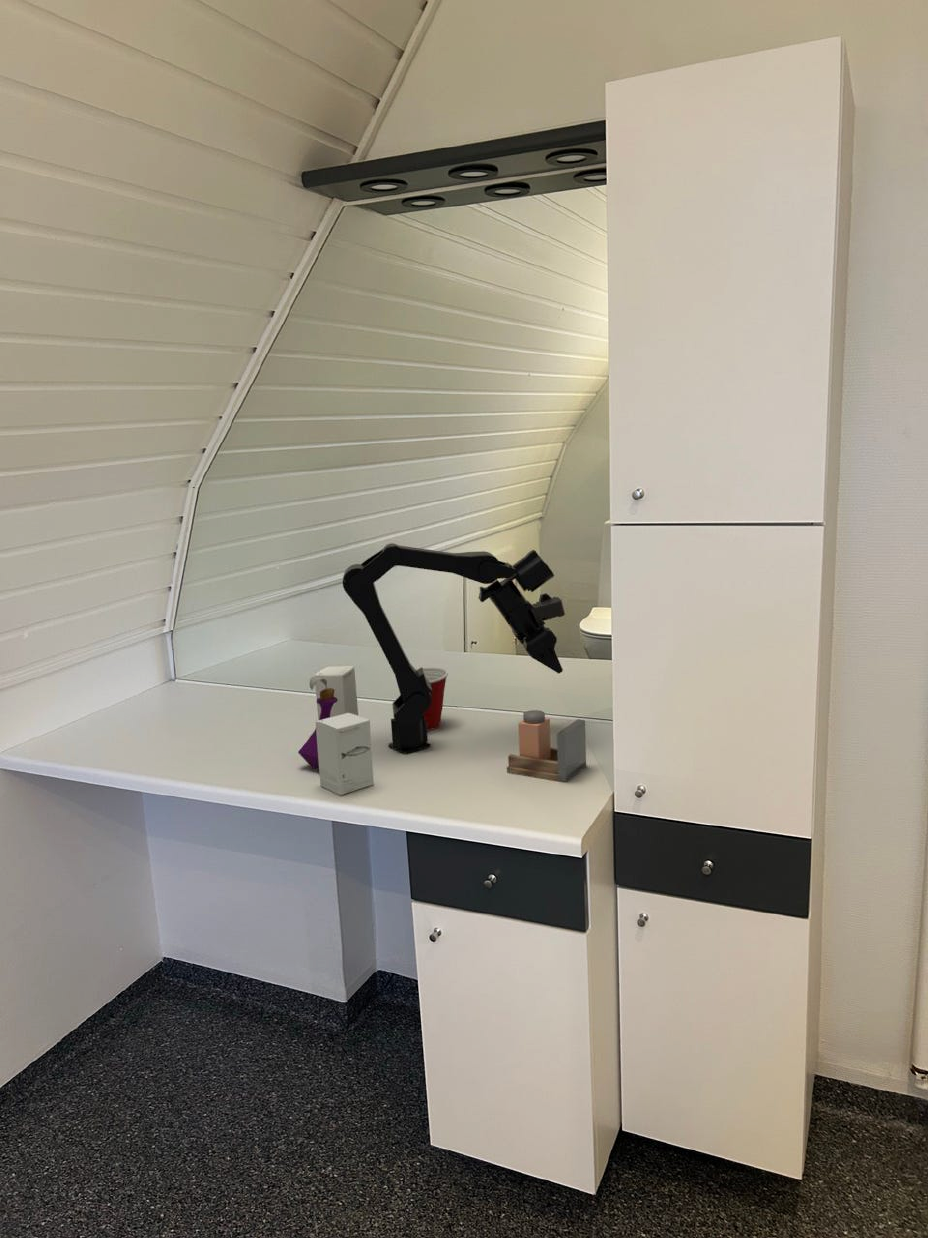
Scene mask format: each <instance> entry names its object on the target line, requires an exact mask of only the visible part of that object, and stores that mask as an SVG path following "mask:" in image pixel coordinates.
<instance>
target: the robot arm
mask: <svg viewBox="0 0 928 1238" xmlns="http://www.w3.org/2000/svg"><path fill="white" fill-rule="evenodd" d="M395 566H396V567H397V566H400V567H405V568H407V567H408V568H413V569H421V570H429V571H434V572H443V573H449V574H454V575H458V576H460V577H463V578H465V579H468V580H470V581H473V582H477V583H479V584H484V585H487V586H486V587H483V586H480V587H479V594H478V598H477V599H478V600H479V602H481V603H484V602H485V601H486V600H488V599H489V600H490V601H491V602H492V604H493V605H494V606H495V608H496V610H498V612H499V613H500V615H501V616H502V617H503V619H504V620H505V622H506V623H507V625H508V626H509V627H510V628H511V632H512V634H513V635H514V636H515V638H516V639H517V640H518V641H519V642H520V644H521V645H522V647H523V648H524V650H525V651H526V652H527V654H528V655H529V657H530V658H532V659H533V660H535V661H537V662H539V663H540V664H541V665H543V666H545V667H547V668H548V669H550V670H552V671H553V672H555V673H556V674H561V673H562V672H563V669H564V668H563V667H562V665H561V662H560V660H559V658H558V655H557V653H556V650H555V647H556V645H557V641H558V638H557V636H556V635H555V634H554V632H553V631H552V630H551V629H550V627H545V625H546V622H545V621H548V620H551V619H555V618H562V617H564V616H565V615H566V612H565V609H564V605H563V602H562V601H563V600H562V599H561V598H560V597H558V596H557V597H556V596H553V597H551V596H550V595H549V594H548V593H543V594H542V593H541V594H539V598H538V601H536V603H531V602H530V601H529V600H527V599H526V598H525V597H524V595H523V593H522V592H521V591H520V589H519V588H518V587H517V585H516V584H515V582H514V580H515V581H516V583H517V584H518V585H519V587H520V588H521V590H522V591H523V592H526V591H528V592H531V593H533V592H535V591H536V590H538V589H539V588H540V587H542V586H543V585H544V584H546V583H547V582H549V581H550V580H551V579H552V578H554V577H555V574H554V573H553V571H552V569H551V568H550V566H549V565H548V564H547V563H546V562H545V561H544V560H543V559H542V558H541V556H540V555H539V553H537V551H536V550H535V549H531V550H530V551H529V552H527V554H525V556H523V557H522V558H521V559H519V560H518V561H517V562H515V563H513V564H511V563H509V562H508V561H507V562H504V561H501V560H499V559H498V558H497V557H496V556H495V555H494V554H492V553H491V552H489V551H483V550H482V551H466V552H447V551H441V550H440V551H439V550H433V549H428V548H427V549H425V548H421V547H420V548H419V547H413V546H412V547H411V546H406V545H400V544H397V543H394V542H393V543H391V542H390V543H387V544H386V545H385V546H383V548H382V549H381V550H379V551H377V552H375V554H373V555H372V556H370V557H368V558H367V559H365V560H364V561H363V562H362V563H355V564H351V565H350V566H348V567H347V568H346V569H345V571H344V573H343V578H342V587H343V590H344V592H345V593H346V594H347V596H348V597H349V598H350V599H351V601H352V602H353V604H354V605H355V606H356V608H358V609H359V610H360V612H361V613H362V614H363V616H364V618H365V619H366V621H367V623H368V625H369V627H370V628H371V631H372V633H373V635H374V637H375V639H376V641H377V642H378V645H379V646H380V648H381V651H382V652H383V654H384V656H385V658H386V660H387V662H388V664H389V666H390V668H391V670H392V672H393V674H394V676H395V681H396V684H397V688H398V690H399V694H400V695H399V696H398V697H397V698H396V699H395V700H394V701H393V702H392V714H393V718H391V719H390V725H391V742H390V743H388V744H387V745H388V747H389V748H390V749H394V750H396V751H397V752H400V753H402V754H408V753H413V752H415V751H420V750H424V749H427V748H430V747H432V746H431V745H432V744H431V743H429V742H428V740H429V737H428V735H429V734H428V730H427V723H426V722H425V716H423V713H424V712H426V711H427V710H428V709H429V707H430V705H431V702H432V698H431V694H430V693H432V692H433V691H432V687H431V684H430V682H429V681H428V680H427V679H426V678H425V675H424V672H423V668H424V667H420V669H418V670H417V671H416V670H415V669H416V668H415V667H414V666H413V665H412V664H411V662H410V660H409V659H408V656H407V654H406V652H405V650H404V649H403V647H402V645H401V642H400V641H399V638H398V637H397V635H396V633H395V630H394V628H393V627H392V625H391V623H390V620H389V618H388V617H387V614H386V612H385V611H384V608H383V607H382V605H381V602H380V599H379V595H378V591H377V588H376V584H375V582H377V581H379V580H380V579H381V578H383V576H384V575H386V574H387V573H388V572H389V571H390V570H391V569H393V568H394V567H395ZM498 579H499V580H500V579H503V580H500V581H499V580H498Z"/></svg>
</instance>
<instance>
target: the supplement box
mask: <svg viewBox="0 0 928 1238" xmlns="http://www.w3.org/2000/svg"><path fill="white" fill-rule="evenodd" d="M315 729H316V734H317V747H318V760H319V769H318V771H319V785H320V786H321V787H323V788H325V789H327V790H328V791H331V792H333V793H334V794H336V795H339V796H343V795H345V794H348V793H351V792H355V791H358V790H361V789H364V788H367V787H372V786H374V783H375V782H374V769H373V768H374V766H373V752H372V737H371V735H372V734H371V721H370V719H368V718H366V717H362V716H360V715H358V716H357V715H354V714H351V713H346V714H342V715H338V716H334V717H330V718H326V719H322V720H316V721H315Z"/></svg>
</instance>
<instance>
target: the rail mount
mask: <svg viewBox="0 0 928 1238" xmlns="http://www.w3.org/2000/svg"><path fill="white" fill-rule="evenodd" d="M586 741H587V740H586V720H585V719H580V718H578V719H575V720H574V721H573V722H572V723H570V724H569V725H567V726H566V727H564V728H562V729H561V730H560V731H559V732H557V733H556V746H557V747H554V746H553V747H552V746H551V759H550V760H544V759H537V758H531V757H525V756H520V755H518V754H511V753H510V754H509V755H508V756H507V758H508V759H507V760H508V766H507V767H506V773H507V772H512V773H511V774H513V773H517V774H516V775H519V774H524V775H523V776H525V775H528V776H527V777H531V776H534V777H533V778H537V777H538V778H537V779H544V780H550V781H557V782H561V783H567V782H568V781H570V780H571V779H572V778H573V777H575V776H576V775H577V774H578V773H580V770H581V769H582V770H583V769H585V768H586V767H587V750H586V749H587V748H586V747H587V745H586V744H587V743H586ZM582 770H581V771H582ZM575 774H576V775H575Z"/></svg>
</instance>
